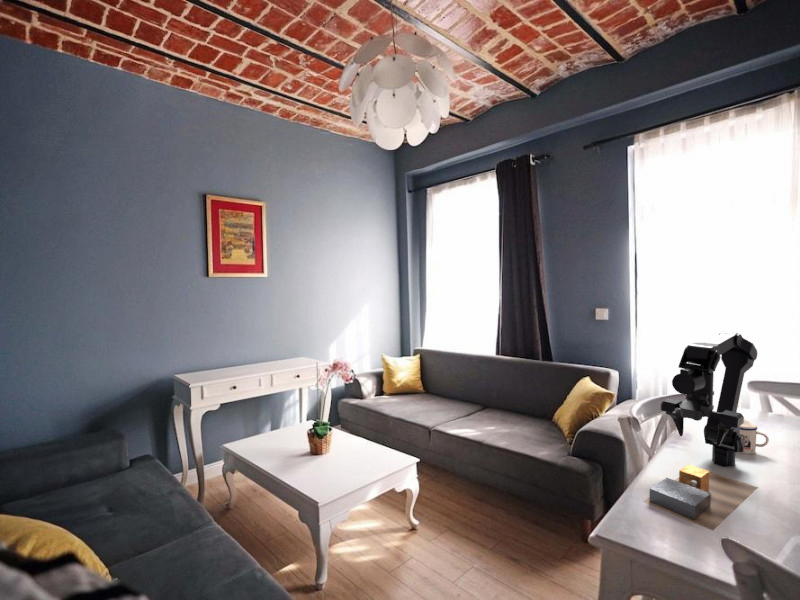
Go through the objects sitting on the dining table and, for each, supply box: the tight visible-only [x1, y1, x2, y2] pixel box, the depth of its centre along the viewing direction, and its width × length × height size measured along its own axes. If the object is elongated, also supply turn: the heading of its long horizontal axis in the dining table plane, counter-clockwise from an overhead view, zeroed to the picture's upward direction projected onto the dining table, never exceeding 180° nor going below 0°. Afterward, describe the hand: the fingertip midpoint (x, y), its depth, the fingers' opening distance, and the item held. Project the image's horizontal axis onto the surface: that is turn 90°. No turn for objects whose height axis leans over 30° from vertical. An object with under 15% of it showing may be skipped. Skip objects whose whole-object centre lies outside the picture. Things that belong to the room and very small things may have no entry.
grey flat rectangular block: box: [649, 477, 711, 520], centre depth 108 cm, size 22×10×4 cm, turn 125°
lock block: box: [678, 463, 711, 491], centre depth 112 cm, size 6×5×5 cm
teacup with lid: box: [738, 415, 770, 455], centre depth 140 cm, size 12×9×12 cm
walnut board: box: [643, 471, 759, 531], centre depth 110 cm, size 33×15×1 cm, turn 125°
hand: (699, 440), depth 119 cm, fingers open, 9 cm apart
